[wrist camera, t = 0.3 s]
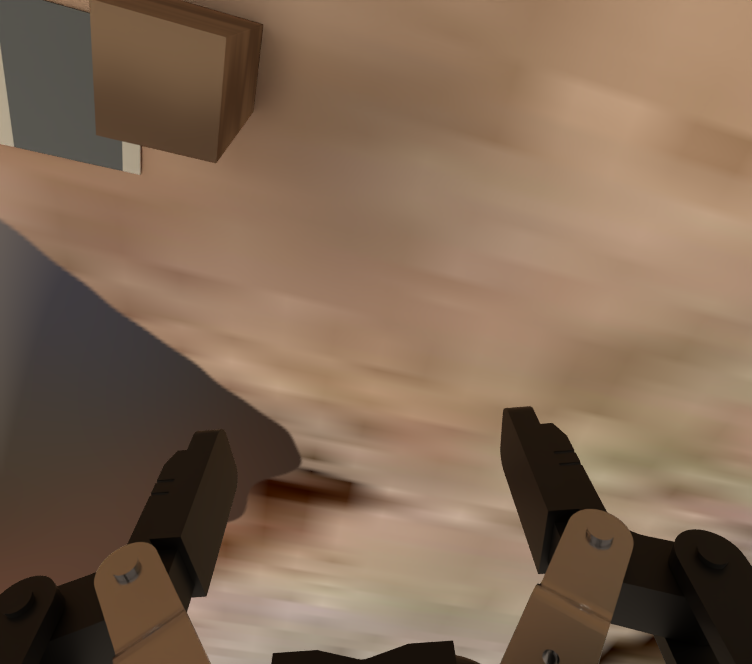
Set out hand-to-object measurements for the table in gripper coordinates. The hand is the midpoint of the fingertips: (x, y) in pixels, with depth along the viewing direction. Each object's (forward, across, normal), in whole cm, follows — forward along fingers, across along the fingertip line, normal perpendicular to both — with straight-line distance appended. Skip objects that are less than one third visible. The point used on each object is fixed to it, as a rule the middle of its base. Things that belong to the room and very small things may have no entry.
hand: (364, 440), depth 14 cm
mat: (+20, +16, -9) cm, 27 cm away
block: (+21, +7, -10) cm, 24 cm away
